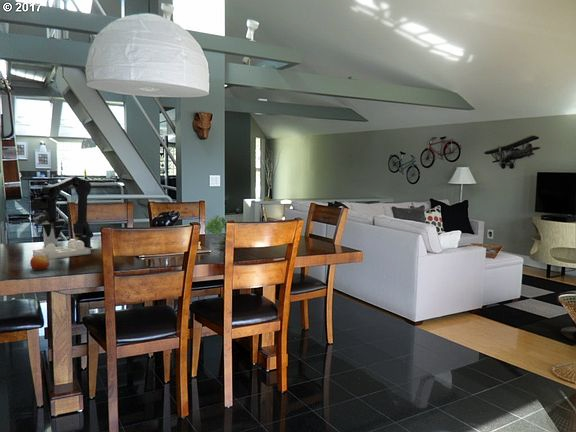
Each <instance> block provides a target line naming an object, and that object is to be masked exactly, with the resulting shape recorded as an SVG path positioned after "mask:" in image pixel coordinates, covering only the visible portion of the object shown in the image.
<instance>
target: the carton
mask: <svg viewBox="0 0 576 432" xmlns="http://www.w3.org/2000/svg"><path fill="white" fill-rule="evenodd" d="M77 240H78V239H74V238H71V239H69V240H68V241H67V245H66V246H56V252H55V253H45V248H38V249H32V256H33V257H34V256H35V255H43V256H45V257H47V259H48V260H55V259H62V258H68V257H69V258H71V257H76V256H84V255H85V256H86V255H91V253H92V249H91V248H92V247H91V248H87V247H84V243H83V241H80V240H78V241H77Z"/></svg>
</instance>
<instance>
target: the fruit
mask: <svg viewBox="0 0 576 432" xmlns="http://www.w3.org/2000/svg"><path fill="white" fill-rule="evenodd" d="M50 265H51V264H50V259H47V257H45V256H43V255H35V256H33V257H32V258H31V259H30V267H31V271H39V272H42V271H44V270H47V269H48V268H49V266H50Z"/></svg>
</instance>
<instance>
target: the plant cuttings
mask: <svg viewBox="0 0 576 432" xmlns="http://www.w3.org/2000/svg"><path fill="white" fill-rule="evenodd" d="M206 223H207V224H206V225H205V226H204V227H205V228H204V230H203V232H206V233H205V234H206V235H208V234H212V235H213V236H215V238H212V239H210V243H211V244H213V243H214V241H215V240H216V238H217V237H219V238H221V239H222V240H223V241H225V239H224V238H226V235H225V234H223V229H226V226H225V223H226V224H227V221H226V219H225V217H224V216H222V217H220V216H219V214H218V215H215V214H214V215H213V216H212V217H211V218H210V219H209V220H208V221H206ZM220 234H221V235H222V236H223V237H224V238H222V237H220Z"/></svg>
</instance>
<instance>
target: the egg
mask: <svg viewBox="0 0 576 432" xmlns="http://www.w3.org/2000/svg"><path fill="white" fill-rule="evenodd" d="M56 247H57V245H54V244H52V243H50V244H47V245H46V246H45V248H44V249H45V253H55V252H56Z"/></svg>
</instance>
